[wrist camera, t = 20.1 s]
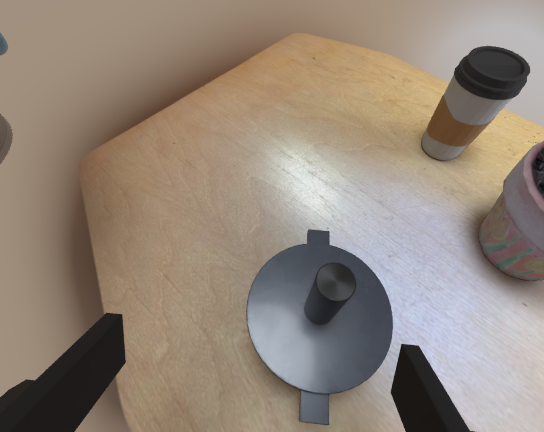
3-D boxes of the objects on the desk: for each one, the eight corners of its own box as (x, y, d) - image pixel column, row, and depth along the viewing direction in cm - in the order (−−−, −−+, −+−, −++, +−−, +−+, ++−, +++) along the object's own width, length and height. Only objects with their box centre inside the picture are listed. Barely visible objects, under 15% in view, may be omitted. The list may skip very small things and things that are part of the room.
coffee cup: (472, 166, 48) (546, 84, 35) (420, 165, 48) (475, 83, 35) (457, 129, 52) (519, 44, 39) (409, 128, 52) (455, 43, 39)
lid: (237, 383, 26) (219, 383, 17) (256, 242, 32) (251, 191, 24) (396, 402, 25) (459, 411, 16) (382, 253, 32) (421, 205, 23)
